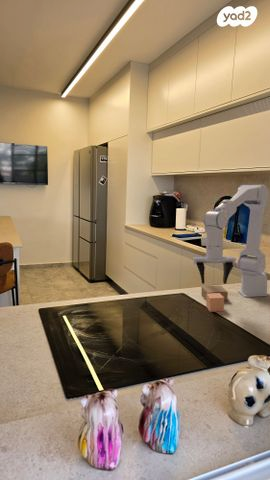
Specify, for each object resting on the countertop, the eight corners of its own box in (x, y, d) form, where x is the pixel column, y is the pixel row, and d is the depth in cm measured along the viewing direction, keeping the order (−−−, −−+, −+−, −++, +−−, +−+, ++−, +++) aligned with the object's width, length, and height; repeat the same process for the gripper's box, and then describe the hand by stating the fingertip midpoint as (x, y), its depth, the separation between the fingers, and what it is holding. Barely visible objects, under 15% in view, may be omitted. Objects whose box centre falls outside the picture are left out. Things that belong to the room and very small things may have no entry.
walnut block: (220, 294, 135) (220, 285, 134) (227, 301, 127) (227, 291, 126) (201, 295, 134) (201, 286, 134) (207, 302, 127) (207, 292, 126)
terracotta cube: (219, 305, 122) (219, 293, 121) (223, 311, 117) (224, 297, 117) (206, 306, 122) (206, 293, 121) (210, 311, 117) (210, 298, 116)
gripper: (195, 247, 112) (194, 286, 114) (238, 247, 111) (237, 286, 113) (192, 244, 118) (192, 280, 121) (233, 243, 118) (232, 280, 120)
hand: (213, 283), depth 117 cm, fingers open, 7 cm apart
